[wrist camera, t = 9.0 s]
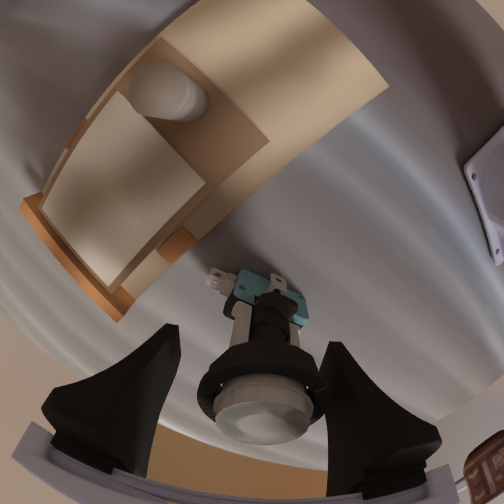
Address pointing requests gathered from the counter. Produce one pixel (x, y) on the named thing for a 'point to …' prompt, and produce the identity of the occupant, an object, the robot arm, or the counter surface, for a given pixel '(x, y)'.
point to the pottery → (486, 470)
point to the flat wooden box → (250, 103)
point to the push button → (263, 364)
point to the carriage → (145, 163)
